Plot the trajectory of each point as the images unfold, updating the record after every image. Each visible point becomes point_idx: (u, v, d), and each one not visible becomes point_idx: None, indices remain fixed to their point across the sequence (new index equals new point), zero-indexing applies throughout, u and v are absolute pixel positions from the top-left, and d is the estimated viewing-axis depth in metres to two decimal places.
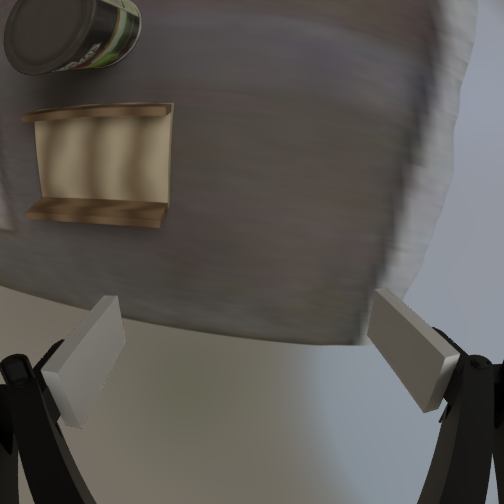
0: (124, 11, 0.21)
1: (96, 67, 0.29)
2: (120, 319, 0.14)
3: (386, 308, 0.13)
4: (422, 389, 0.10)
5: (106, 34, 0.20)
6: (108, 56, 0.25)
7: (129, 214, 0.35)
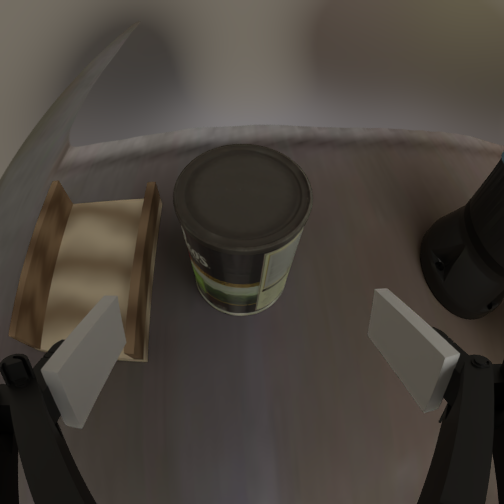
0: (257, 291, 0.27)
1: None
2: (120, 319, 0.14)
3: (385, 308, 0.13)
4: (422, 389, 0.10)
5: (219, 273, 0.24)
6: (200, 280, 0.28)
7: (26, 302, 0.25)
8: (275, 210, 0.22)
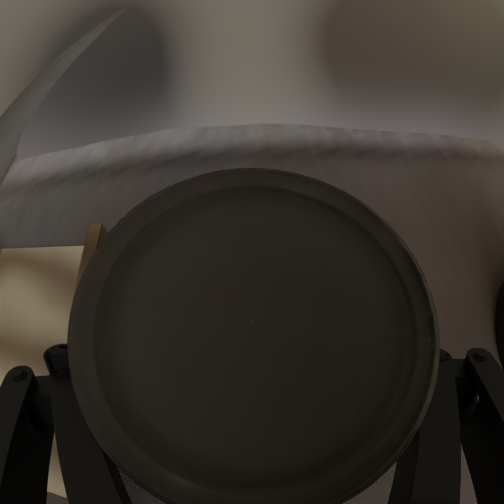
0: None
1: None
2: None
3: None
4: None
5: None
6: None
7: None
8: (353, 392, 0.07)
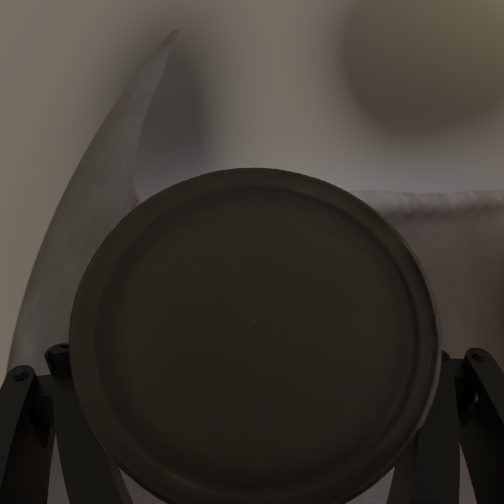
0: None
1: None
2: None
3: None
4: None
5: None
6: None
7: None
8: (355, 392, 0.07)
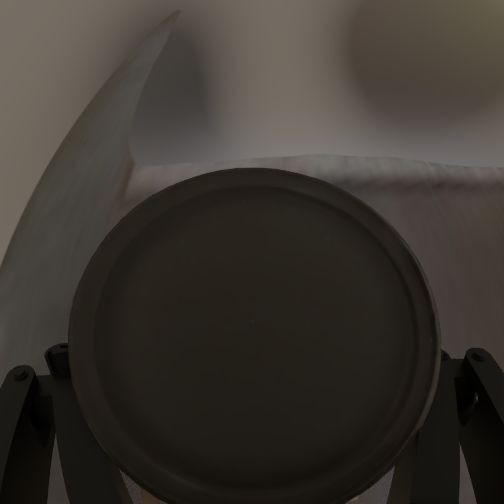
0: None
1: None
2: None
3: None
4: None
5: None
6: None
7: None
8: (355, 392, 0.07)
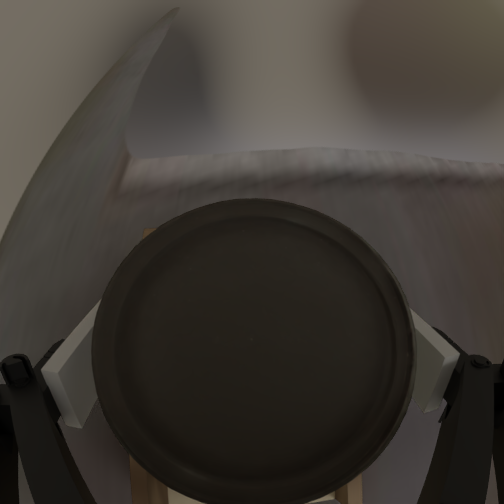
0: None
1: None
2: None
3: None
4: (422, 389, 0.10)
5: None
6: None
7: None
8: (338, 399, 0.08)
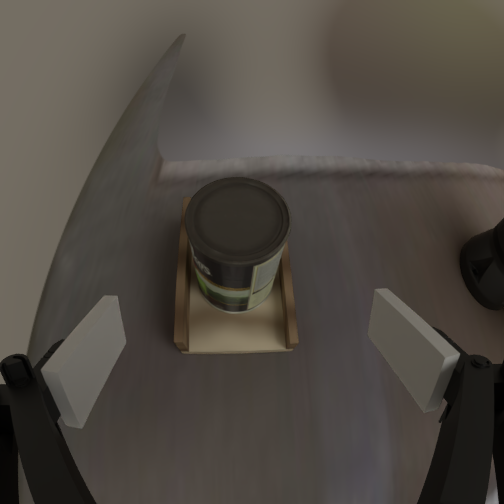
0: (248, 294, 0.34)
1: None
2: (121, 319, 0.14)
3: (385, 308, 0.13)
4: (422, 389, 0.10)
5: (219, 279, 0.31)
6: (203, 284, 0.35)
7: (185, 309, 0.35)
8: (262, 233, 0.29)
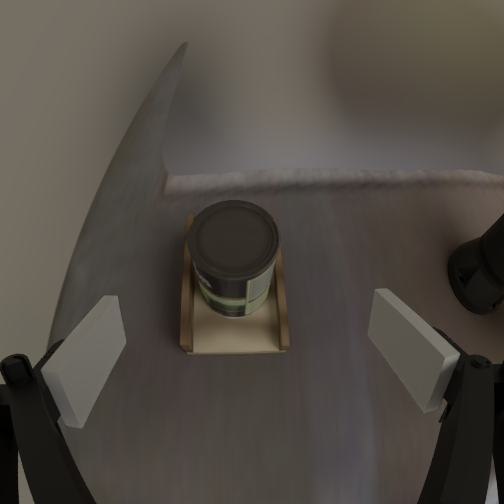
0: (244, 302, 0.38)
1: None
2: (120, 319, 0.14)
3: (386, 308, 0.13)
4: (422, 389, 0.10)
5: (218, 291, 0.35)
6: (205, 294, 0.40)
7: (189, 316, 0.39)
8: (254, 251, 0.33)
